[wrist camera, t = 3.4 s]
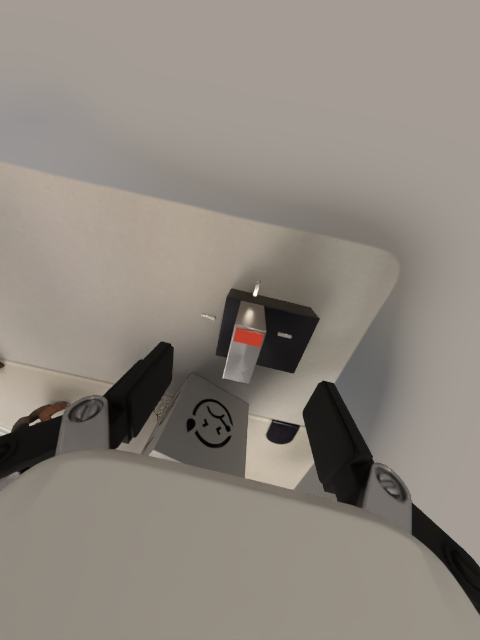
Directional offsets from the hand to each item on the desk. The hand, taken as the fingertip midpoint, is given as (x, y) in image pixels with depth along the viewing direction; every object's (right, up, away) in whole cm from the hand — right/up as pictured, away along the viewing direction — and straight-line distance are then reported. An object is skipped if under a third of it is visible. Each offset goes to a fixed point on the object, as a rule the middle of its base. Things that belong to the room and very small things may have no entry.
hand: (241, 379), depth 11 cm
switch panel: (+2, +4, +9) cm, 10 cm away
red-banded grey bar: (+1, +3, +6) cm, 7 cm away
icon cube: (-6, -10, +17) cm, 20 cm away
